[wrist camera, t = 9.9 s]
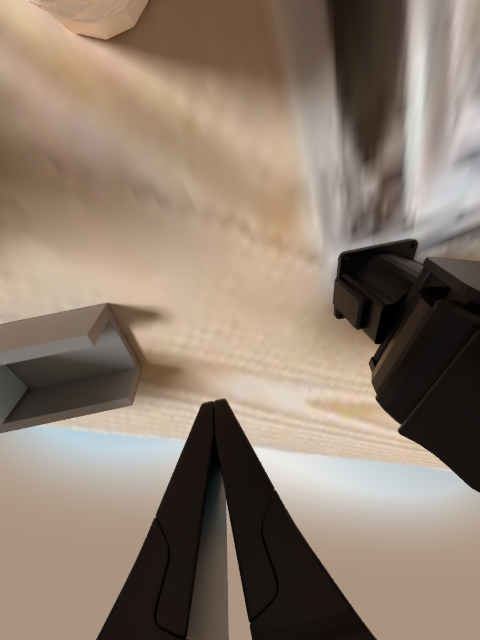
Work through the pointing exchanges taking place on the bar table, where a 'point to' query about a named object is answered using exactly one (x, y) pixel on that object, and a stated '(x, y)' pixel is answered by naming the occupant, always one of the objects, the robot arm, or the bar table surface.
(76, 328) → the chute
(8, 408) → the block
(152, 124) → the bar table surface
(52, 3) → the white cup
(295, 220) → the bar table surface
